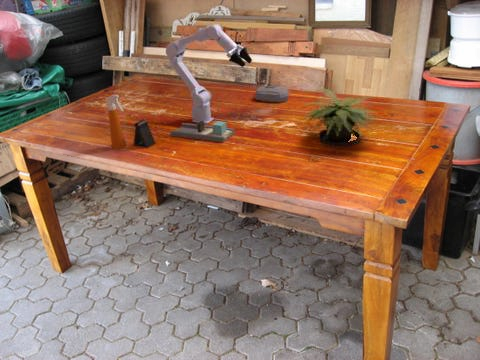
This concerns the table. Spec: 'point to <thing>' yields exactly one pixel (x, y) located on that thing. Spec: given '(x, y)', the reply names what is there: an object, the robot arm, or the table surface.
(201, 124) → the sliding plate with handle
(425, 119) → the table surface
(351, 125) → the fern plant
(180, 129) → the channel
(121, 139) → the spray bottle
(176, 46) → the robot arm
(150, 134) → the phone stand
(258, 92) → the soft grey pack
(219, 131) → the block
